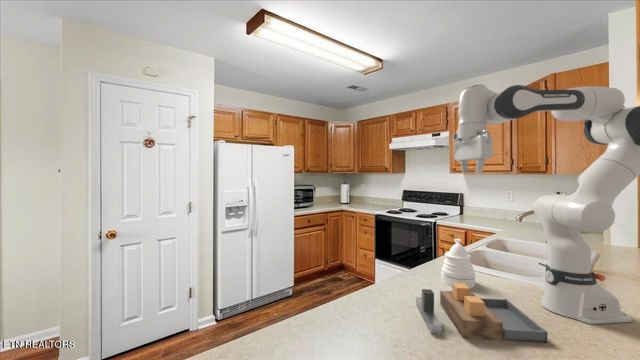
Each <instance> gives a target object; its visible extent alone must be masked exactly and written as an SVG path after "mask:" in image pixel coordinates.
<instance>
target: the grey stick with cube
mask: <svg viewBox="0 0 640 360" xmlns="http://www.w3.org/2000/svg"><path fill="white" fill-rule="evenodd" d="M415 305H416V307H417V309H418V311H419V313H420V315H421V318H422V320H423V321H424V324H425V326H426V327H427V330H428V331H429V333H430V335H438V336H442V334H443V331H442V329H443V325H442V323H441V321H440V320H439V319H438V317H437V315H436V313H435V293H434V292H433V290H432V289H427V288H426V289H425V288H422V289H421V296H420V297H419V296H415Z"/></svg>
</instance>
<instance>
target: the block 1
mask: <svg viewBox="0 0 640 360" xmlns="http://www.w3.org/2000/svg"><path fill="white" fill-rule="evenodd" d="M451 288H452V290H451V291H452V295H453V296H454V297H455V299H456V300H464V296H470V292H471V288H469V287H468V286H467V285H466V284H460V283H452V286H451Z"/></svg>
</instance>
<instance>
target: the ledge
mask: <svg viewBox="0 0 640 360" xmlns="http://www.w3.org/2000/svg"><path fill="white" fill-rule="evenodd" d="M439 292H440V293H439V295H440V299H439V302H440V303H439V304H440V307H441V308H442V310H443V311H444V312H445V314H446V316H447V317H448V319H449V320H450V321H451V323H452V324H453V325H454V327H455V328H456V330H457V332H458V333H459V334H460V336H461V337H462V339H477V340H495V341H504V340H503V322H502V321H501V320H500V319H499V318H498V317H497V316H496V315H495V314H494V313H493V312H491V311H490V310H489V309H488V308H487V307H486V306H485V305H484V316H470V315H469V314H468V313H467V312H466V310H465V309H464V300H456V299H455V297H454V296H453V295H452V290H440V291H439ZM470 296H475V297H477V295H476V294H474V292H472V291H470Z"/></svg>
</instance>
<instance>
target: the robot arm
mask: <svg viewBox="0 0 640 360" xmlns="http://www.w3.org/2000/svg"><path fill="white" fill-rule="evenodd" d="M625 102H626V98H625V95H624V93H623V92H622V90H620V89H618V88H615V87H610V86H581V87H580V86H578V87H572V88H571V87H570V88H566V89H538V88H537V89H535V88H532V87H529V86H526V85H522V84H516V85H515V84H514V85H512V86H509V87H507V88H505V89H504V90H503V91H501V92H499V93H498V92H495V91H493V90H491V89H489V87H487V86H486V85H485V84H475V85H472V86H468V87H467V88H465V89H464V90H462V91H461V92H460V94H459V101H458V117H459V120H458V126H457V127H458V128H457V130H456V132H455V133H454V134H453V136H452V142H453V158H454V160H455V162H459V164H460V167H461V173H462V174H469V171H470V170H469V169H470V168H469V167H468V163H469V161H476V167H475V168H474V173H475V174H482V173H483V169H484V166H485V163H486V160H487V159H492V158H493V156H494V145H493V144H494V143H493V137H492V136H491V133H490V132H489V130H488V125H490V124H491V125H500V124H504V123H506V122H509V121H512V120H515V119H517V120H518V119H520V118H524V117H526V116H529V115H531V114H533V113H535V112H550V113H551V115H552V116H553V117H554V119H556V120H558V121H564V122H583V121H584V122H583V124H584V126H583V133H584V137H585V139H586V140H587V141H588V142H589V143H592V144H596V145H606V146H607V147H606V150H605V151H604V153H603V154H601V155H600V156H599V157H597V159H596V160H595V161H593V162H592V163H591V164H590V165H589V166H588V167H587V168H586V169H584V171H582V173H580V175H579V176H578V177H577V183H578V187H577V189H576V191H574V192H573V193H572V194H569V195H568V194H560V193H559V194H558V193H553V194H546V195H542V196H540V197H538V198H537V199H536V200H535V201H534V203H533V208H532V209H533V213H534V215H535V216H536V217H537V218H538V220H539V221H540V223H541V225H542V229H543V232H544V235H545V241H546V246H547V248H546V249H547V254H546V255H547V258H546V260H547V261H546V264H545V274H544V275H545V286H544V287H545V288H544V291H543V292H544V293H543V296H542V298H541V300H540V304H541V306H542V307H543V308H545V309H546V310H548V311H551V312H553V313H555V314H558V315H560V316H564V317H566V318H571V319H574V320H577V321H580V322H582V323H586V324H591V325H593V324H594V325H597V324H611V323H612V324H613V323H615V324H617V323H630V322H632V317H630V315H629V314H627V313H625V312H624V311H623V310H621V304H620V302H619V298H617V297H616V296H615V295H614V294H612V293H611V292H610V291H608V290H607V289H606V288H605V287H603V286H601V285H600V284H599V283H598V281H597V280H599V281H600V282H605V280H606V279H607V278H606V276H605V275H603V274H601V273H599V272H597V273H595V272H593V271H592V248H591V246H590V245H589V243H587V241H586V240H585V239H584V238H583V236H582V233H581V232H589V233H590V232H591V233H592V232H595V233H598V232H605V231H607V230H608V229H610V228H611V227H612V226H613V224H614V223H615V219H616V213H615V210H614V208H613V204H614V201H616V198H617V197H618V196H619V195H620V194H621V193H622V192H623V191H624V190H625V189H626V188H627V187H628V186H629V185H630V184H631V183H633V181H634V180H636V178H638V177H639V176H640V105H638V106H633V107H627V108H626V106H625V105H624V104H625Z"/></svg>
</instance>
